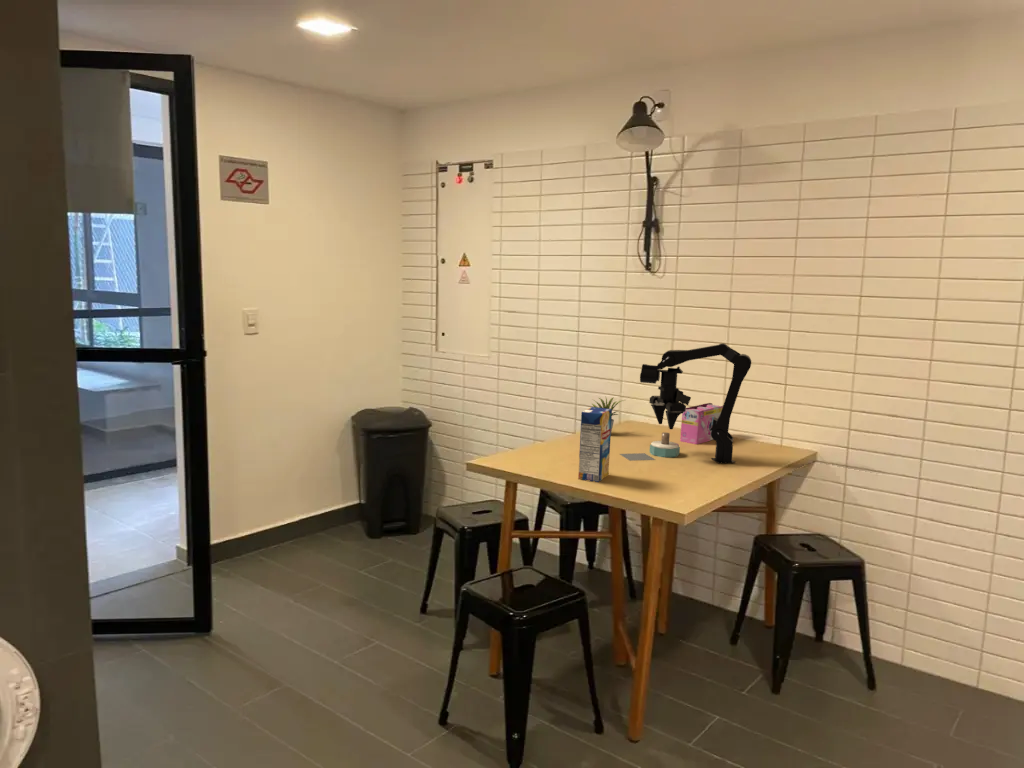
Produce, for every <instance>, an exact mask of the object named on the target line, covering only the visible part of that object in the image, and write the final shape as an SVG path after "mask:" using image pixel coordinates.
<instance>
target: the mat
mask: <svg viewBox="0 0 1024 768" xmlns="http://www.w3.org/2000/svg"><path fill="white" fill-rule="evenodd" d="M619 455H620V456H621V457H623V458H625V460H626V459H627V460H628V461H630V462H631V461H632V462H633V461H656V459H655V458H653V456H650V455H649V454H647V453H646V452H645V453H644V452H643V453H642V452H641V453H640V452H639V453H637V452H636V453H619Z"/></svg>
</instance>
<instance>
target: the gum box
mask: <svg viewBox="0 0 1024 768" xmlns="http://www.w3.org/2000/svg"><path fill="white" fill-rule="evenodd" d="M722 408H723V405H716V404H713V403H711V402H708V403H702V404H699V405H695V406H694V405H693V406H687V407H686V411H685V412H683V413H681V425H680V426H681V427H680V439H679V442H681V443H682V442H683V443H687V444H694V445H700V444H703V443H706V442H709V441H713V440H714V439H713V438H712V436H711V431H712V430H711V431H710V428H711V426H712V425H713V419H714V417H716V418H718V417H719V415H720V414H721V411H722ZM714 441H715V440H714Z"/></svg>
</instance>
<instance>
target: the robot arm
mask: <svg viewBox="0 0 1024 768" xmlns="http://www.w3.org/2000/svg"><path fill="white" fill-rule="evenodd" d="M717 356H722V357H724V358H725V360H727V361H728V362H730V363H731V364H733V368H732V377H731V381H730V384H729V386H728V391H727V393H726V395H725V399H724V402H723V404H722V406H723V408H722V411H721V414H720V415H719V417H718V418H716V417H714V419H713V425H712V426H711V428H710V431H711V430H712V431H711V436H712V438H713V439H714V441H715V455H714V457H711V458H710V459H711V460H712V461H714V462H716V463H718V464H736V461H735V460H733V452H734V451H733V450H734V449H733V447H734V445H733V443H734V437H733V435H732V434H731V433H730V432H729V430H730V429H729V427H730V421H731V416H732V413H733V410H734V407H735V403H736V401H737V398H738V395H739V392H740V389H741V385H742V383H743V382H744V380H745V378H746V376H747V374H748V372H749V370H750V369H751V366H752V359H751V357H750V356H749V355H747V354H745V353H740V352H738V351H736V350H735V349H733V348H732V347H730V346H728V344H726V343H722V342H721V343H719V344H714V345H709V346H704V347H698V348H693V349H670V350H667V351H665V352H664V353H663V354H662V356H661V361H660V362H658V363H657V365H651V364H645V363H643V364H641V370H640V374H639V382H640V384H641V383H643V384H644V383H645V384H657V382H660V385H659V386H658V388H657V390H659V395H651V397H649V404H650V406H651V408H652V410H653V413H654V415H655V417H656V420H657V423H658V425H662V424H663V420H664V416H666V420H667V424H668V428H669V430H673V429H674V427H675V424H676V422H677V419H678V417H679V416H680V415H682V413H683V412H685V411H686V408H687V406H689V404H690V401H691V398H692V397H691V396H689V395H687V394H684V391H682V390H680V389H679V388H678V387H677V383H678V375H679V374H680V375H681V374H683V373H684V371H683V370H682V369H681V368H680V366H679V365H682V364H683V363H686V362H689V361H694V360H701V359H704V358H705V359H706V358H712V357H717ZM675 366H677V367H676V368H675ZM666 367H668V368H667V369H665V368H666Z"/></svg>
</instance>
